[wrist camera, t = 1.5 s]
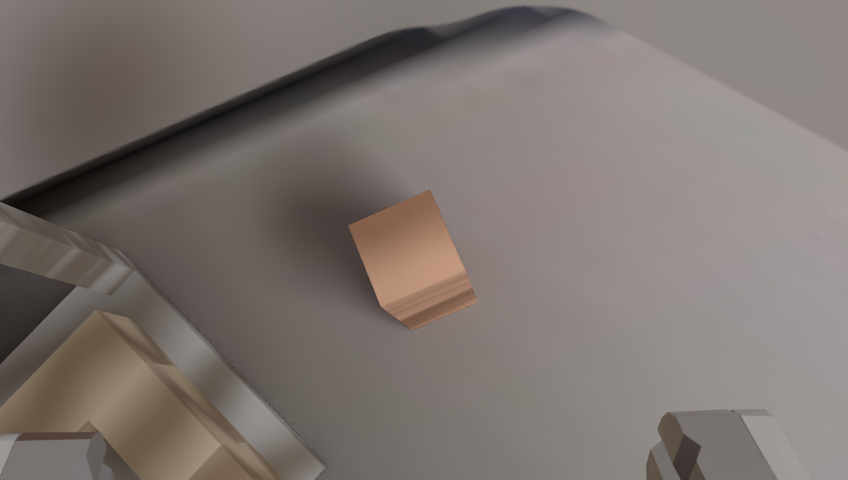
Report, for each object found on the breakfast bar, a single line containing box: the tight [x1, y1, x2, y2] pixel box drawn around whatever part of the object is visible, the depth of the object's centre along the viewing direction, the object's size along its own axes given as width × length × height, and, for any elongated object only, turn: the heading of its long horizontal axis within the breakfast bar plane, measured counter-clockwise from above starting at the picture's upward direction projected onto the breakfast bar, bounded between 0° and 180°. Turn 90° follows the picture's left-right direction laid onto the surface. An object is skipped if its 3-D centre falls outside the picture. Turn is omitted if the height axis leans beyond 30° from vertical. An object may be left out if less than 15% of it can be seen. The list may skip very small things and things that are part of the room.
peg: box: [348, 190, 477, 330], centre depth 39 cm, size 4×4×10 cm
